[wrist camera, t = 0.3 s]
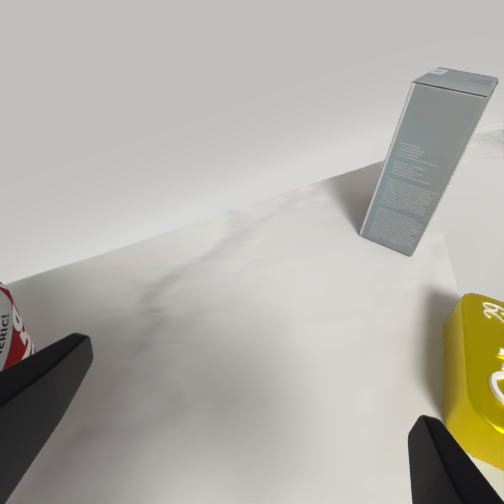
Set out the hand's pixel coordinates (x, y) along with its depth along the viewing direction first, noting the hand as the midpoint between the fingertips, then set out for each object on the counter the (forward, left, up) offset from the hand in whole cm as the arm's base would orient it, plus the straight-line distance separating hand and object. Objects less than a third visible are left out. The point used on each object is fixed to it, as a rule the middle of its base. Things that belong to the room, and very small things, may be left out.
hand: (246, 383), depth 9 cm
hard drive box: (+43, -12, -17) cm, 48 cm away
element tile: (+17, -22, -17) cm, 33 cm away
